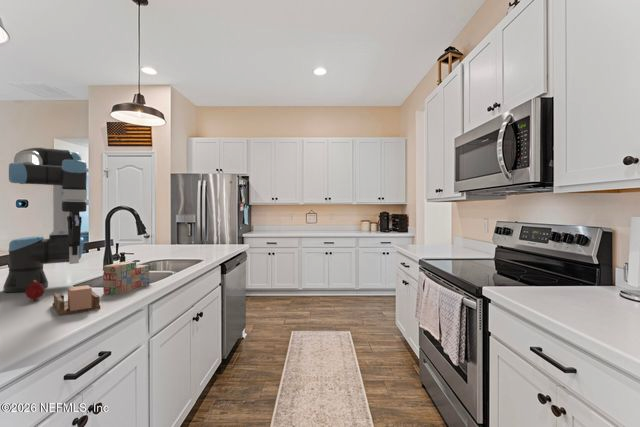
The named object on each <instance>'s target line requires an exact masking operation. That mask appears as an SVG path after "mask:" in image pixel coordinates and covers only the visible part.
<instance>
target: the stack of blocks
mask: <svg viewBox="0 0 640 427" xmlns="http://www.w3.org/2000/svg"><path fill="white" fill-rule="evenodd" d="M102 276H103V278H102V279H103V293H107V294H106V295H114V294H116V295H119V294H118V293H120V294H123V293H126V292H128V291H132V290H134V289H136V288H138V289H139V287H143V286H147V285H150V265H149V264H137V262H136V261H121V262H117V263H112V264H106V265H103V274H102ZM122 292H123V293H122Z"/></svg>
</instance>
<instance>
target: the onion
mask: <svg viewBox="0 0 640 427" xmlns="http://www.w3.org/2000/svg"><path fill="white" fill-rule="evenodd" d="M45 289H46V288H44V287H43V285H42V284H40V283H38V282H37V281H36V280H34V281H33V283H32V284H30V285H29V286H28V287H27V288H26V290H25V292H24V293H25V296H26V297H27V298H28V299H30V300H33V301H37V300H38V299H40V298H41V297H42V296H43V295H44V294H45V291H46V290H45Z"/></svg>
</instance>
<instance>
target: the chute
mask: <svg viewBox="0 0 640 427" xmlns="http://www.w3.org/2000/svg"><path fill="white" fill-rule="evenodd" d="M52 307H53V308H54V311H55V312H56V314H57V315H58V317H60V316H65V315H72V314H76V313H82V312H88V311H89V312H90V311H94V310H95V311H96V310H100V309H101V305H100V295H98V294H97V293H96V292H95V291H93V290H92V308H87V309H81V310H75V311H70V310H69V308H68V300H65V296H64V294H63V293H58V292H55V293H53V302H52Z"/></svg>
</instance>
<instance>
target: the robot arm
mask: <svg viewBox="0 0 640 427" xmlns="http://www.w3.org/2000/svg"><path fill="white" fill-rule="evenodd" d="M81 156H82V155H80V153H79V152H77V151H73V150H68V149H57V148H46V147H32V148H31V147H30V148H26V149H23V150H20V151H19V152H17V153H16V154H15V155H14V157H13V162H10V163H9V164H8V181H9V182H10V183H11V184H19V185H42V186H43V185H44V186H45V185H46V186H53V188H52V189H53V190H52V191H53V193H52V194H53V195H52V196H53V197H52V198H53V199H52V201H53V202H52V203H53V204H52V206H53V208H52V210H53V212H52V213H53V218H52V219H53V223H52V224H53V229H52V230H53V231H52V232H51V233H49V236H48V237H49V238H44V236H43V235H37V236H36V235H35V236H28V237H26V236H25V237H20V238H15V239H12V240H10V242H9V244H8V250H7V252H8V274H7V277H6V279H5V282H4V285H3V287H2V288H3V289H2V290H3V292H4V293H25V290H26V288H27V287H28V286H29V285H30V284H32V283H33V281H34V280H36V281H37V282H38V283H40V284H42V285H43V287H44V289H46V288H48V287H49V281H48V278H47V275H46V274H45V271H44V265H48V264H51V265H52V264H64V263H68V264H69V265H72V264H75V265H77V264H80V260H81V259H82V255H83V251H84V241H85V239H84V237H82V236H81V233H82V232H81V230H82V219H83V218H82V216H80V213H84V212H87V202H86V201H87V200H88V197H87V196H88V191H87V182H88V181H87V176H88V175H87V172H88V168H87V162H86V161H84V160H83V159H82V157H81Z"/></svg>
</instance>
